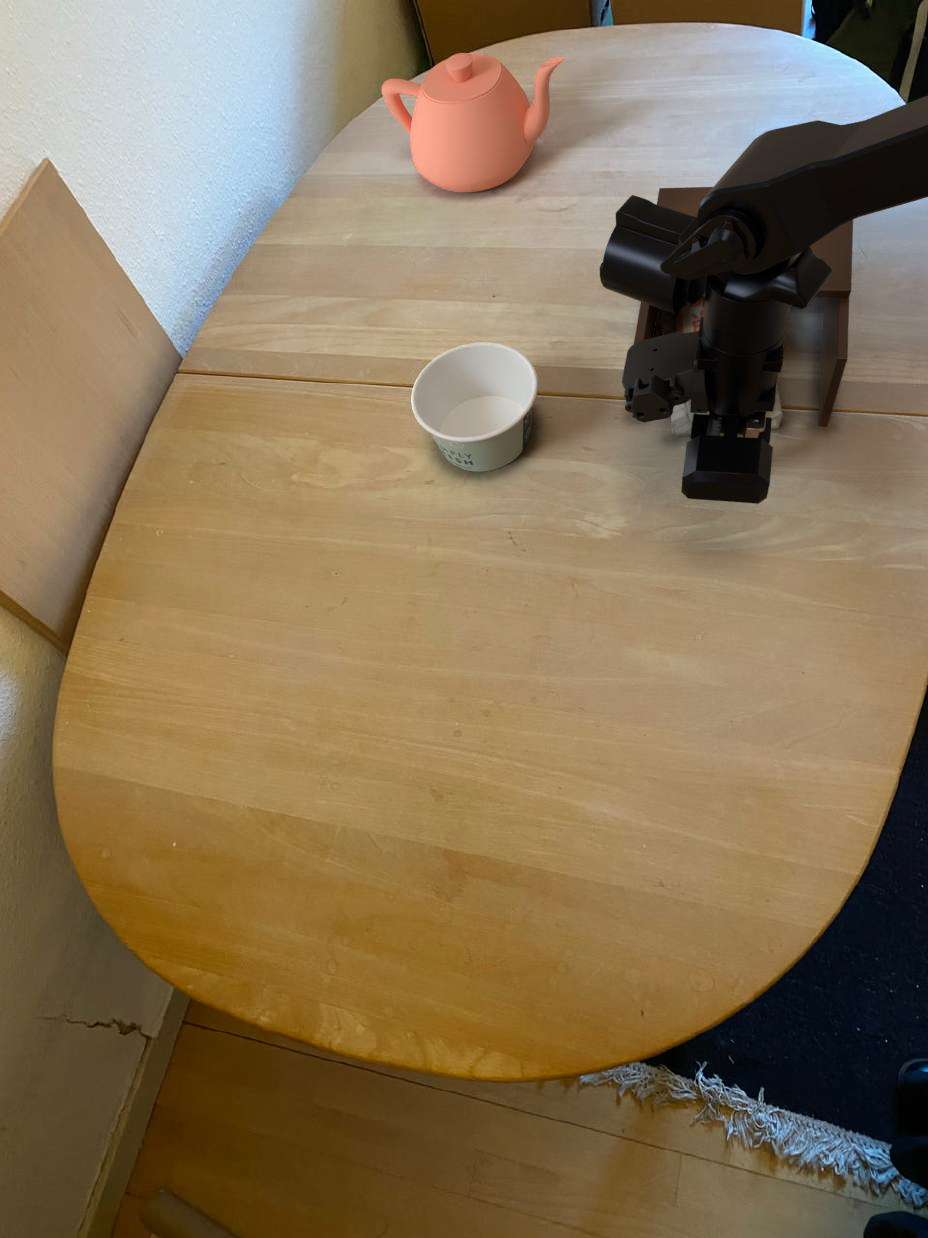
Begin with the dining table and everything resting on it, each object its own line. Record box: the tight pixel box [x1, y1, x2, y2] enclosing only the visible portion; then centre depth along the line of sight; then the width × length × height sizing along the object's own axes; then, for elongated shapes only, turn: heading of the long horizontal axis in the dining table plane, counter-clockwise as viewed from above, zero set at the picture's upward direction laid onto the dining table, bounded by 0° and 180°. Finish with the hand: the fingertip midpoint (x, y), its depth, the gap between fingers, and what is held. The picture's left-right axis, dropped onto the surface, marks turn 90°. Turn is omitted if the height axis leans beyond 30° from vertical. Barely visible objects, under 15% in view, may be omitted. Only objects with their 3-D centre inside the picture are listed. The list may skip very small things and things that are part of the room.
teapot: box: [381, 52, 565, 193], centre depth 98 cm, size 22×15×12 cm
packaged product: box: [660, 296, 784, 437], centre depth 80 cm, size 18×5×10 cm
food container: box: [410, 341, 539, 473], centre depth 80 cm, size 12×12×6 cm
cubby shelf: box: [632, 186, 854, 427], centre depth 79 cm, size 18×21×9 cm
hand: (725, 462), depth 73 cm, fingers closed
